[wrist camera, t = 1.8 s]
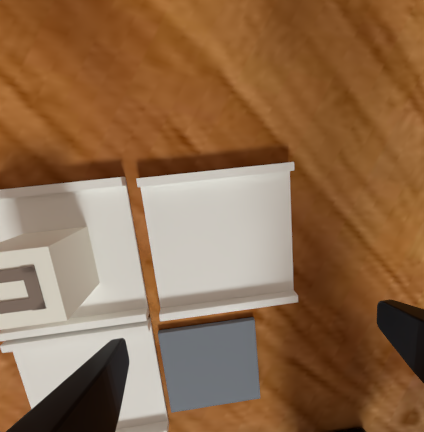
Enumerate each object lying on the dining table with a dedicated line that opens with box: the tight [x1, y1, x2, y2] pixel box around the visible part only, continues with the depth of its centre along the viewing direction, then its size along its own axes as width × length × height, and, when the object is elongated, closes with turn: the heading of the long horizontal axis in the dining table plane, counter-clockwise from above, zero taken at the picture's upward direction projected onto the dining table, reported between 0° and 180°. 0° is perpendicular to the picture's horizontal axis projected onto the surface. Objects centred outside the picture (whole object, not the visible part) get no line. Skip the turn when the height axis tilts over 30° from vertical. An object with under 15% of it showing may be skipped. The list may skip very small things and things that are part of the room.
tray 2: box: [0, 317, 169, 432], centre depth 19 cm, size 11×11×1 cm
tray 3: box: [136, 162, 298, 321], centre depth 17 cm, size 11×11×1 cm
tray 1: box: [0, 177, 149, 341], centre depth 16 cm, size 11×11×1 cm
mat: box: [158, 317, 260, 412], centre depth 20 cm, size 8×8×1 cm
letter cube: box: [0, 227, 100, 330], centre depth 15 cm, size 4×4×5 cm
